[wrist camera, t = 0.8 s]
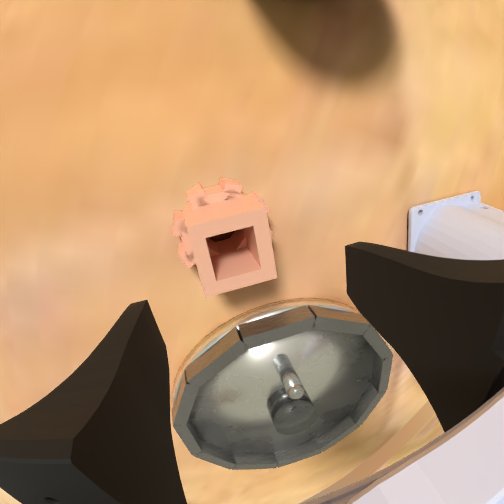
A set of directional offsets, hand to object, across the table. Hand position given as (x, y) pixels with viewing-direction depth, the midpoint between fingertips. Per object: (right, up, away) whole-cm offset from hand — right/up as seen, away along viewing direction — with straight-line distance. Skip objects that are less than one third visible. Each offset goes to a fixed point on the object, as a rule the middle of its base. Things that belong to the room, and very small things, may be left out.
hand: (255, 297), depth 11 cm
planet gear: (-2, +3, +8) cm, 9 cm away
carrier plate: (+3, -11, +15) cm, 18 cm away
